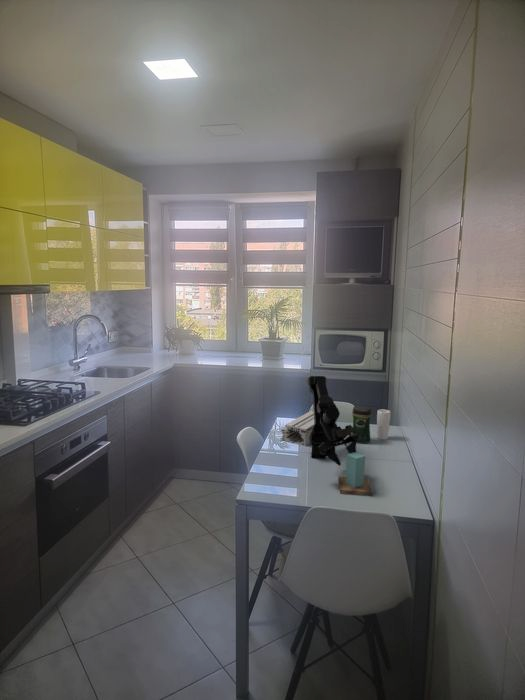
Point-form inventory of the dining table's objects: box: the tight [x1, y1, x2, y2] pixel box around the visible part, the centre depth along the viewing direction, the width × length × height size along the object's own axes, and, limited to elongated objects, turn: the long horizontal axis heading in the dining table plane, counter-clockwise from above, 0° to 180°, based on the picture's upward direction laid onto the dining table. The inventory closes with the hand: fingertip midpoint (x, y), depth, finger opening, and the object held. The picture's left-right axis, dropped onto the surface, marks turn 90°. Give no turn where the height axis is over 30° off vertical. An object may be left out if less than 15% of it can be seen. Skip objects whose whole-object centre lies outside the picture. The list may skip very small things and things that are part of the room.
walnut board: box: [337, 475, 373, 497], centre depth 170 cm, size 12×12×2 cm
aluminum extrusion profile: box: [280, 410, 324, 447], centre depth 229 cm, size 14×31×10 cm, turn 149°
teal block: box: [345, 451, 366, 488], centre depth 169 cm, size 5×5×12 cm
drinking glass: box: [376, 408, 392, 441], centre depth 226 cm, size 7×7×15 cm
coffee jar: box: [351, 405, 372, 444], centre depth 221 cm, size 10×8×19 cm
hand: (348, 462), depth 172 cm, fingers open, 9 cm apart
